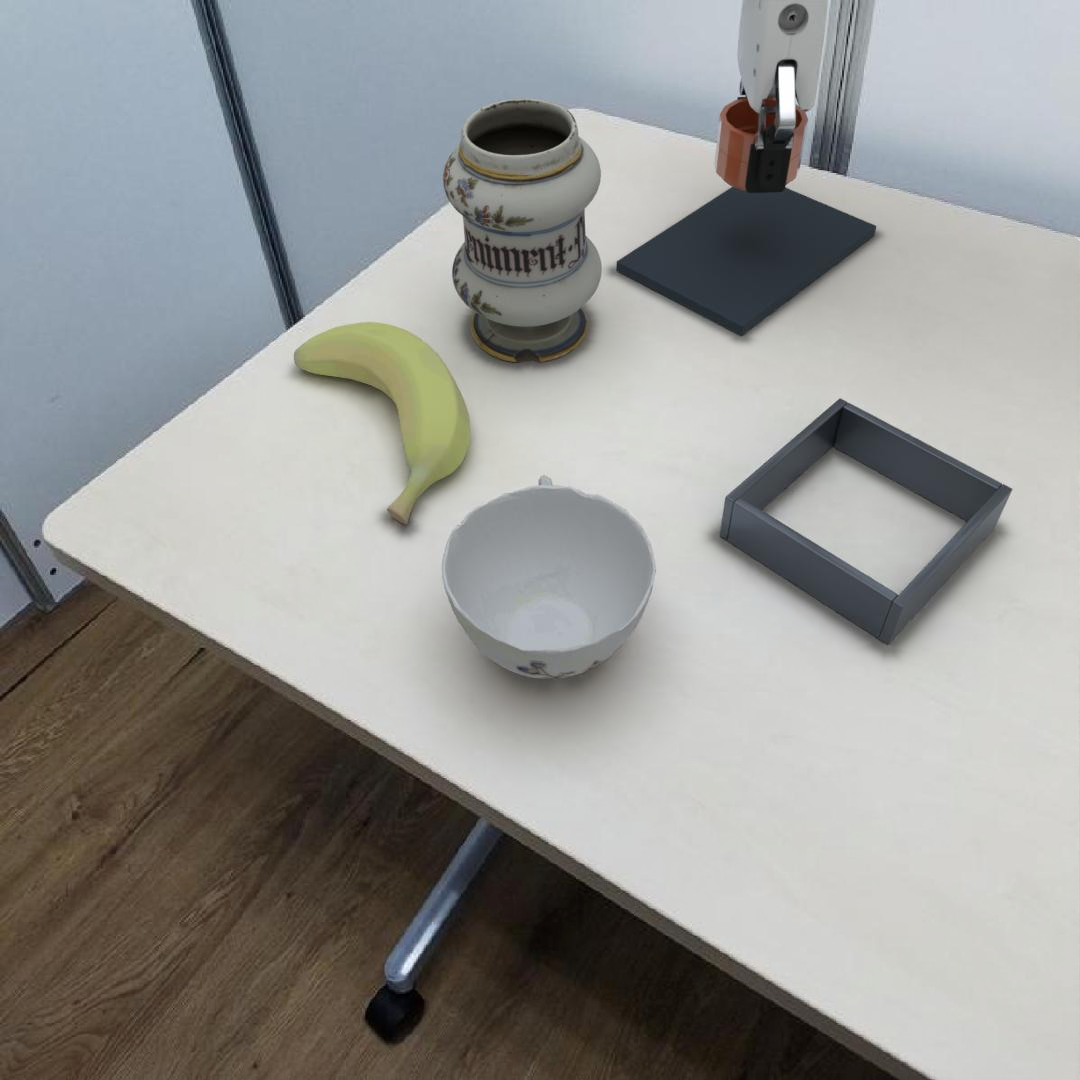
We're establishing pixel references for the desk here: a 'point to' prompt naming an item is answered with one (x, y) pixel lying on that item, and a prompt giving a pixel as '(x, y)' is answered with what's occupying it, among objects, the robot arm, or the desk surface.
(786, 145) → the robot arm
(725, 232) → the mat
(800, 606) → the desk surface
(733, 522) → the square frame
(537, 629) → the teacup
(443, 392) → the banana
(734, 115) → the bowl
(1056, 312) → the desk surface
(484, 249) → the apothecary jar
